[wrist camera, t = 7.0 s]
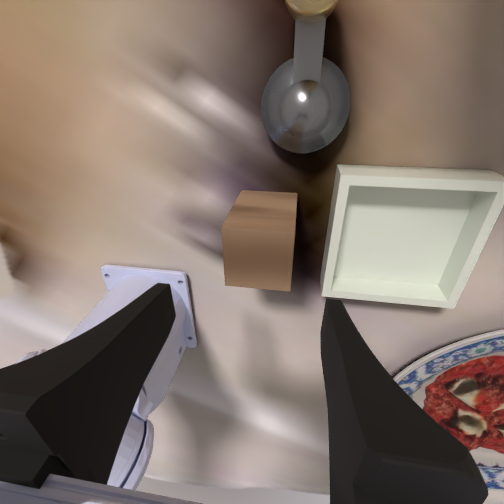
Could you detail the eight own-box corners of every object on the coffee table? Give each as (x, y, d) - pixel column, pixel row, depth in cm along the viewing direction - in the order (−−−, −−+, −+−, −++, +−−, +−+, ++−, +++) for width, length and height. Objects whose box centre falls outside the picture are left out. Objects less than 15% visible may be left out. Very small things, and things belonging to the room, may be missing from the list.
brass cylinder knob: (327, 135, 17) (332, 151, 13) (278, 135, 17) (272, 150, 14) (347, -51, 13) (363, -96, 9) (283, -46, 13) (276, -87, 10)
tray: (441, 288, 23) (453, 308, 21) (320, 277, 24) (321, 296, 22) (491, 170, 18) (514, 182, 16) (337, 164, 19) (340, 174, 17)
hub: (340, 150, 19) (342, 154, 18) (262, 147, 19) (260, 152, 18) (355, 55, 16) (358, 54, 15) (263, 56, 17) (261, 55, 16)
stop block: (293, 242, 23) (290, 291, 18) (242, 238, 23) (225, 285, 18) (297, 193, 20) (295, 232, 15) (241, 190, 21) (221, 227, 16)
